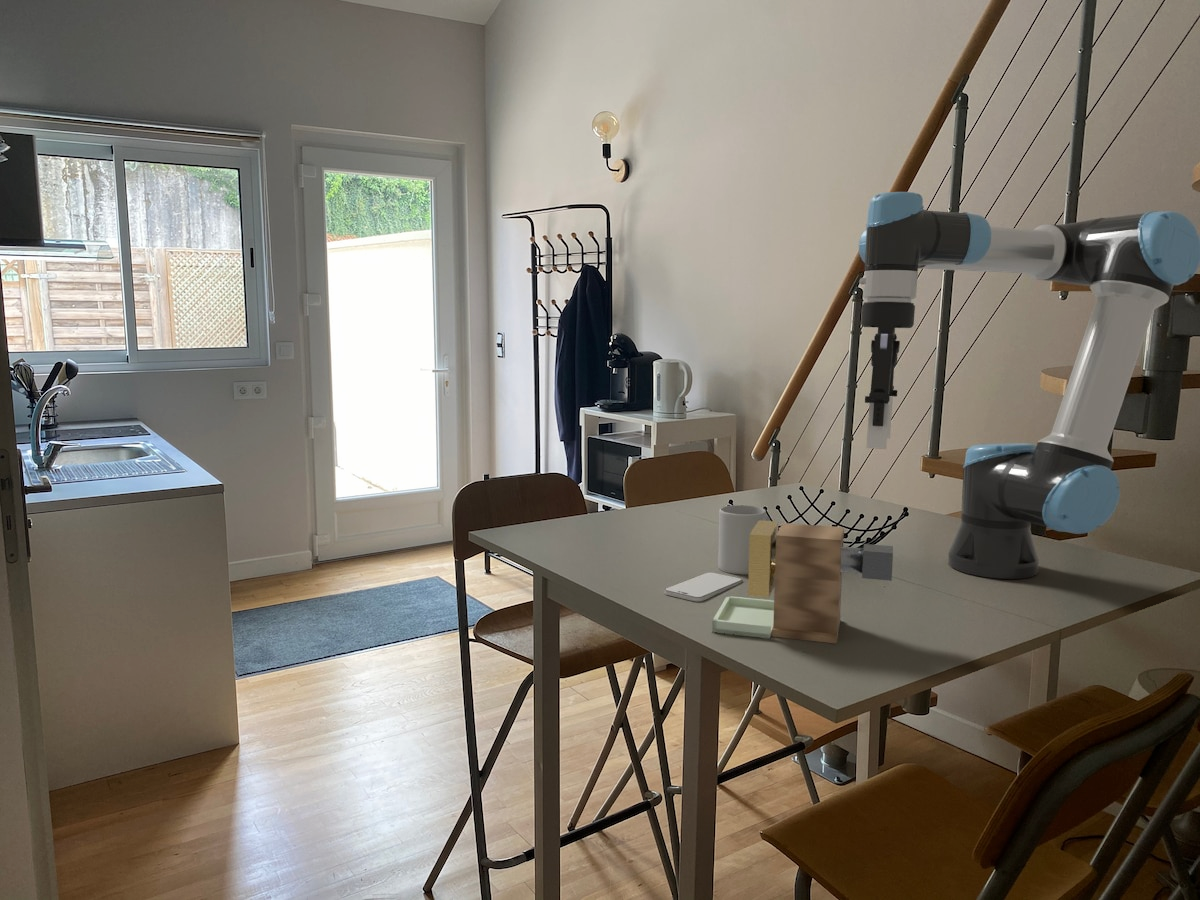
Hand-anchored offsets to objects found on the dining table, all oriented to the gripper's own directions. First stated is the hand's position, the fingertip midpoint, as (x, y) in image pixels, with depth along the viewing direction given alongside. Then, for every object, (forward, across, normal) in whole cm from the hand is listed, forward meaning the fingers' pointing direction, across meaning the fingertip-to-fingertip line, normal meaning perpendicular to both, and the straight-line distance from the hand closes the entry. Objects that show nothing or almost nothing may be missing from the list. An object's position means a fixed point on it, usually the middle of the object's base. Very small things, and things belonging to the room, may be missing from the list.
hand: (878, 443), depth 134 cm
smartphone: (+28, -4, -27) cm, 39 cm away
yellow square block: (+22, +10, -15) cm, 28 cm away
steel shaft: (+18, +10, -7) cm, 22 cm away
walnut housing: (+27, +10, -8) cm, 30 cm away
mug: (+27, -19, -22) cm, 40 cm away
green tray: (+27, +10, -17) cm, 34 cm away
